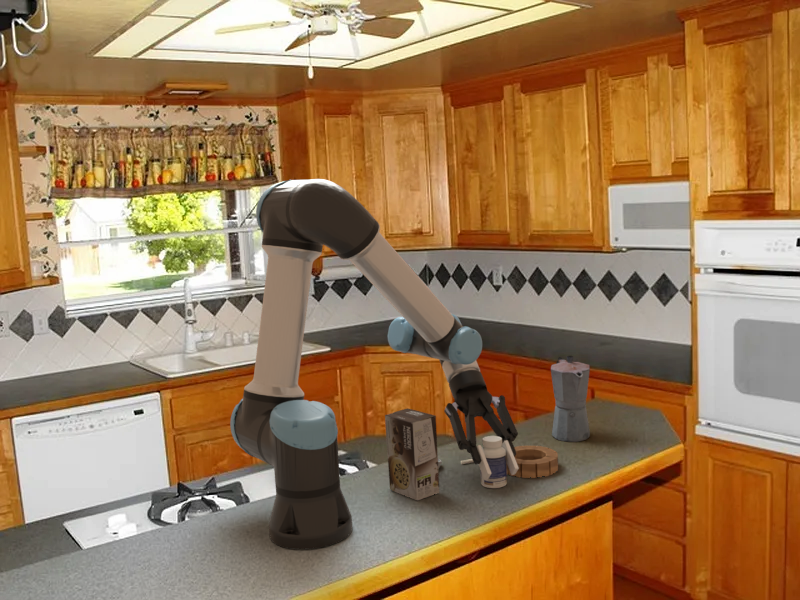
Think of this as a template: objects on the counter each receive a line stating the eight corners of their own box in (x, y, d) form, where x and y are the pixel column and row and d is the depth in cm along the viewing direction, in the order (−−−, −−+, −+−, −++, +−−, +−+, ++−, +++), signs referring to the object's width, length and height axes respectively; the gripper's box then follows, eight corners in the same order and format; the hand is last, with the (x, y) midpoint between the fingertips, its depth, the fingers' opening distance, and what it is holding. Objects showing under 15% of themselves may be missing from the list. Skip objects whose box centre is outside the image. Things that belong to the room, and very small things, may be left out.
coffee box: (441, 492, 167) (437, 415, 165) (416, 501, 163) (412, 422, 161) (412, 481, 174) (408, 407, 172) (388, 489, 170) (383, 413, 168)
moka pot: (564, 448, 190) (562, 362, 188) (538, 429, 205) (535, 350, 202) (602, 442, 193) (601, 358, 190) (573, 424, 207) (572, 346, 205)
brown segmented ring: (517, 481, 171) (517, 467, 171) (492, 464, 182) (491, 450, 182) (568, 471, 175) (568, 458, 175) (540, 455, 186) (540, 442, 186)
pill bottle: (512, 485, 169) (510, 439, 168) (491, 491, 167) (489, 444, 165) (496, 477, 174) (494, 432, 173) (475, 483, 171) (473, 437, 170)
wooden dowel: (462, 464, 183) (462, 461, 183) (460, 463, 183) (460, 460, 183) (526, 453, 188) (526, 450, 188) (525, 452, 189) (525, 449, 189)
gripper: (497, 381, 185) (536, 475, 172) (421, 392, 179) (454, 490, 166) (507, 363, 180) (548, 458, 167) (429, 373, 174) (464, 473, 161)
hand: (501, 474), depth 166 cm, fingers closed on pill bottle, 5 cm apart
